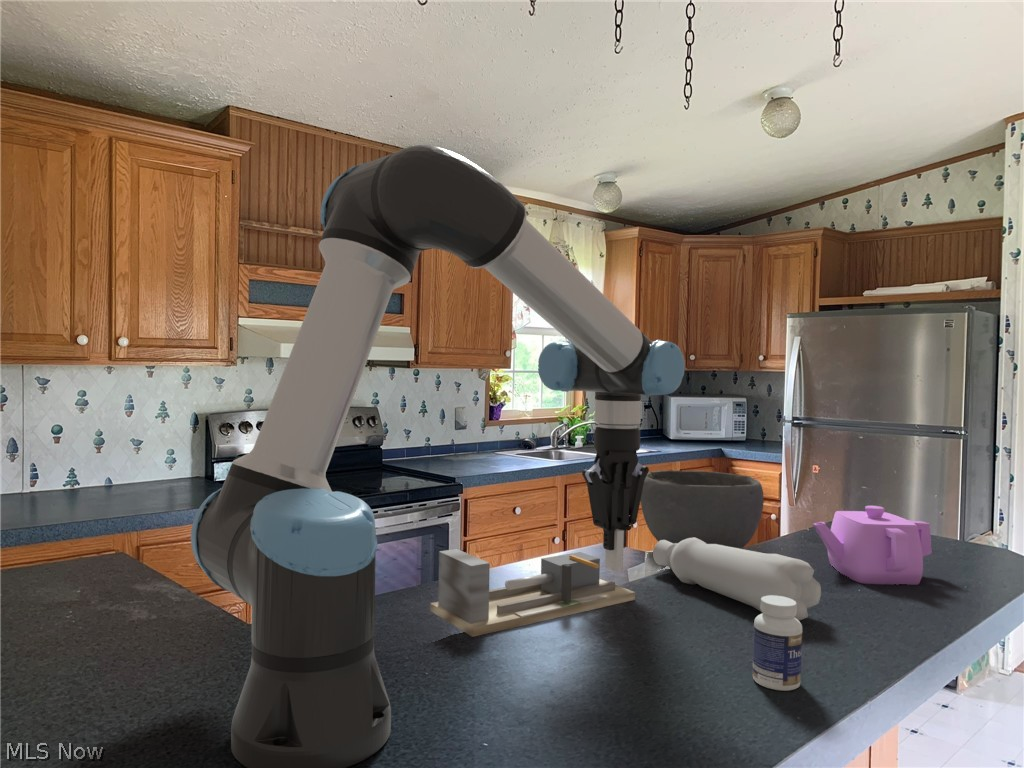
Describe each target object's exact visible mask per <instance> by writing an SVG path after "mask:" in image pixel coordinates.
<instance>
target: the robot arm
mask: <svg viewBox="0 0 1024 768" xmlns="http://www.w3.org/2000/svg"><path fill="white" fill-rule="evenodd" d="M527 216H528V215H527V207H526V206H525V205H524V203H522V201H521V200H520V199H518V197H516V196H515V195H514V194H513V192H511V191H510V190H509V189H508V188H507V187H506V186H505V185H504V184H503V183H501V182H500V181H499V180H498V179H497V178H495V177H494V176H492V174H490V173H489V172H487V171H486V170H484V169H483V168H482V167H480V166H479V165H477V164H476V163H474V162H472V161H471V160H469V159H467V158H466V157H464V156H462V155H461V154H458V153H456V152H454V151H451V150H448V149H446V148H444V147H439V146H434V145H428V144H427V145H425V144H422V145H421V144H419V145H411V146H407V147H404V148H402V149H399V150H397V151H396V152H393V153H390V154H388V155H387V154H386V155H385V156H382V157H379V158H376V159H373V160H370V161H367V162H366V161H365V162H363V163H359V164H356V165H353V166H352V167H350V168H349V169H348V170H345V172H344V173H342V174H341V175H339V176H337V177H336V178H335V179H334V180H333V181H332V182H331V183H330V185H328V187H327V189H326V191H325V193H324V195H323V197H322V200H321V206H320V216H319V217H320V224H321V225H322V227H323V234H322V237H321V239H320V241H319V244H318V250H319V252H320V253H321V256H322V258H323V259H324V267H323V270H322V272H321V275H320V277H319V280H318V283H317V285H316V287H315V290H314V293H313V295H312V298H311V301H310V303H309V305H308V307H307V310H306V313H305V315H304V319H303V320H302V323H301V326H300V329H299V330H298V333H297V336H296V338H295V341H294V344H293V346H292V349H291V351H290V354H289V356H288V358H287V361H286V364H285V367H284V369H283V372H282V374H281V377H280V379H279V382H278V384H277V387H276V390H275V392H274V394H273V397H272V400H271V402H270V404H269V407H268V410H267V412H266V414H265V418H264V419H263V422H262V424H261V427H260V431H259V432H258V435H257V438H256V440H255V443H254V446H253V448H252V450H251V451H250V452H249V453H246V454H244V455H242V456H240V457H237V458H236V459H234V460H233V461H232V463H231V465H230V467H229V470H228V472H227V475H226V478H225V480H224V482H223V484H222V487H220V488H219V489H217V490H215V491H214V492H212V493H211V494H210V495H209V496H207V498H205V500H203V502H202V504H201V505H200V506H199V508H198V510H197V511H196V514H195V516H194V518H193V522H192V525H191V531H190V544H191V549H192V554H193V556H194V558H195V560H196V563H197V564H198V566H199V567H200V569H201V570H202V572H204V574H205V575H206V576H207V577H208V579H210V581H211V582H212V583H213V584H215V586H218V587H219V588H221V589H222V590H224V591H225V592H230V593H231V594H232V595H235V597H237V598H239V599H240V600H242V601H243V602H245V603H247V604H248V605H250V606H251V659H250V661H251V662H250V667H249V669H248V672H247V675H246V677H245V681H244V684H243V686H242V690H241V692H240V695H239V699H238V702H237V705H236V707H235V710H234V714H233V716H232V721H231V727H230V733H231V734H230V736H231V737H230V748H231V749H230V750H231V753H232V755H233V757H234V758H235V759H236V761H238V763H240V764H242V766H244V767H246V768H348V767H351V766H354V765H356V764H359V763H361V762H363V761H364V760H366V759H368V758H370V757H371V756H373V755H374V754H375V753H377V752H378V751H379V750H380V749H381V748H382V747H384V745H385V744H386V743H387V741H388V739H389V738H390V735H391V730H392V729H391V728H392V727H391V725H392V722H391V721H392V707H391V703H390V699H389V695H388V693H387V689H386V687H385V684H384V680H383V678H382V675H381V674H382V673H381V671H380V668H379V665H378V662H377V658H376V656H375V617H376V616H375V614H376V613H375V612H376V611H375V606H376V605H375V603H376V556H377V552H378V551H377V550H378V538H377V531H376V530H377V529H376V519H375V514H374V512H373V510H372V508H371V507H370V506H369V504H368V503H366V502H365V501H364V500H363V499H362V498H359V497H358V496H355V495H353V494H350V493H347V492H343V491H338V490H337V491H333V490H332V489H331V486H330V485H329V482H328V480H327V477H326V476H327V475H326V474H327V473H326V472H327V470H328V467H329V465H330V462H331V459H332V458H333V454H334V451H335V448H336V446H337V443H338V440H339V437H340V435H341V432H342V429H343V426H344V424H345V421H346V419H347V416H348V413H349V411H350V408H351V404H352V403H353V400H354V398H355V397H354V396H355V395H356V392H357V389H358V386H359V383H360V381H361V378H362V375H363V373H364V370H365V367H366V364H367V361H368V358H369V357H370V354H371V350H372V348H373V346H374V344H375V343H374V342H375V340H376V337H377V334H378V332H379V329H380V327H381V324H382V321H383V318H384V315H385V313H386V310H387V307H388V304H389V302H390V300H391V296H392V294H393V291H394V290H396V289H397V288H401V287H402V286H404V285H407V284H408V283H409V282H410V281H411V278H412V275H413V272H414V270H415V268H416V264H417V262H418V259H419V256H420V254H421V252H423V251H427V250H431V249H434V250H441V251H444V252H447V253H450V254H453V255H454V256H456V257H457V258H459V259H460V260H461V261H463V262H464V263H465V264H466V265H467V266H468V267H470V268H472V269H476V270H477V269H483V268H484V269H485V270H486V271H487V272H488V273H489V274H491V275H492V277H494V278H495V279H497V280H498V281H499V283H501V284H502V285H504V286H505V288H507V289H508V290H509V291H511V292H512V293H513V294H514V295H515V296H517V298H518V299H520V300H521V301H522V302H523V303H525V304H526V305H527V306H528V307H529V308H530V309H531V310H533V311H534V312H535V313H536V314H537V315H539V316H540V318H542V319H543V320H544V321H545V322H547V324H549V325H550V326H551V327H552V328H554V329H555V331H557V332H558V333H559V334H560V335H562V336H563V337H564V338H565V339H566V341H565V340H562V341H554V342H553V341H552V342H550V343H548V344H547V345H546V346H545V347H543V349H542V350H541V352H540V354H539V357H538V365H537V367H538V369H537V372H538V375H539V378H540V381H541V382H542V384H543V385H544V386H545V387H546V388H547V389H549V390H551V391H557V392H558V391H559V392H560V391H561V392H563V393H564V392H566V393H568V392H572V391H573V392H589V393H591V392H592V393H593V392H594V423H595V424H597V426H596V427H595V428H594V429H593V433H594V434H593V447H594V449H595V450H596V451H595V453H596V455H595V457H594V460H593V465H592V466H591V467H590V468H589V469H583V470H582V472H581V474H582V477H583V479H584V481H585V483H586V487H587V492H588V499H589V500H588V501H589V504H590V511H591V516H592V523H593V525H594V526H595V527H599V528H601V529H602V531H603V534H602V535H603V542H602V546H603V549H604V550H605V554H604V555H605V556H604V561H605V562H604V563H605V564H604V567H605V568H606V569H609V570H612V571H615V572H619V571H623V570H624V549H626V545H627V531H631V530H632V527H633V526H632V525H636V524H637V519H638V515H639V509H640V506H641V502H640V500H641V495H642V490H643V485H644V480H645V478H646V476H647V474H648V473H649V472H650V469H649V467H648V466H646V465H645V466H644V465H642V464H641V463H640V462H639V457H638V454H637V451H639V450H640V448H641V429H640V428H639V427H638V426H639V425H640V424H641V422H642V419H641V418H642V417H641V416H642V413H641V412H642V409H641V408H642V396H643V395H645V396H647V397H651V396H659V395H660V396H663V395H665V396H666V395H669V394H670V395H671V394H673V393H674V392H675V391H676V390H678V388H679V387H680V386H681V384H682V381H683V378H684V376H685V365H686V363H685V358H684V355H683V352H682V349H680V347H679V346H678V345H677V344H676V343H674V342H671V341H666V340H662V339H656V340H652V339H649V337H648V336H647V335H646V334H644V332H643V331H641V330H640V329H639V327H637V326H636V324H634V323H633V322H632V321H631V320H630V319H629V318H628V317H627V316H626V315H625V314H624V312H622V311H621V310H620V309H619V308H618V307H617V306H616V305H614V303H612V301H611V300H610V299H609V298H608V297H606V295H604V294H603V292H602V291H600V290H599V288H597V287H596V286H595V284H593V283H592V282H591V281H590V280H589V279H588V278H587V277H586V276H585V275H584V274H583V273H582V272H581V271H580V270H579V269H578V268H577V267H576V266H575V265H574V264H573V263H572V262H571V261H570V260H569V259H568V258H566V257H565V256H564V254H562V253H561V251H559V250H558V249H557V248H556V246H554V245H553V244H552V243H551V242H550V241H549V240H548V239H547V238H546V237H545V236H544V235H543V234H542V233H541V232H540V231H539V230H538V229H537V228H536V227H535V226H534V225H533V224H532V223H531V222H530V221H529V220H528V219H527Z"/></svg>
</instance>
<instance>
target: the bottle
mask: <svg viewBox="0 0 1024 768" xmlns="http://www.w3.org/2000/svg"><path fill="white" fill-rule="evenodd" d="M652 557H653V560H654V562H655V563H656V564H657V565H659V566H663V567H668V568H670V569H671V570H672V572H673V573H674V574H675V576H676V577H677V578H678V579H679V581H680V582H681V583H684V584H687V585H696V584H698V585H699V586H700V587H702V588H704V589H707V590H710V591H711V592H714V593H717V594H719V595H722V596H725V597H728V598H729V599H733V600H735V601H738V602H739V603H743V604H745V605H748V606H750V607H752V608H755V609H756V610H758V611H759V612H761V613H763V612H762V611H761V608H760V606H761V598H762V597H764V596H769V595H775V596H783V597H787V598H790V599H793V600H794V601H796V603H797V613H796V616H794V618H796V619H797V620H799V621H801V620H804V619H807V618H808V617H809V615H808V609H809V608H812V607H814V606H816V605H819V602H820V600H821V596H822V589H821V583H819V581H817V579H815V577H813V575H814V574H815V573H814V572H815V570H814V569H813V567H812V565H810V563H809V562H807V561H805V560H802V559H799V558H796V557H795V558H793V557H789V556H786V555H782V554H779V553H764V552H760V551H755V550H748V549H743V548H742V549H739V548H734V547H728V546H723V545H718V544H706V543H705V542H704V541H702V540H700V539H697V538H695V537H693V538H687V539H685V540H682V541H681V542H679V543H671V542H669V541H666V540H660V541H659V542H658V541H657V542H656V544H655V545H654V547H653V550H652Z"/></svg>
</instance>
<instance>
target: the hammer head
mask: <svg viewBox="0 0 1024 768" xmlns="http://www.w3.org/2000/svg"><path fill="white" fill-rule="evenodd" d="M571 569H572V566H571V565H568V564H563V565H562V601H564V602H566V603H568V602H571Z"/></svg>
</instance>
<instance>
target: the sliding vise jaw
mask: <svg viewBox="0 0 1024 768" xmlns="http://www.w3.org/2000/svg"><path fill="white" fill-rule="evenodd" d="M600 563H601V559H600V558H599V557H596V556H593V555H590V554H587V553H584V552H582V551H579V552H574V553H573V552H572V553H566V554H561V555H555V556H554V555H553V556H548V557H543V558H542V557H541V558H540V574H536V575H530V576H524V577H520V578H514V579H507V580H506V581H505V582H504V587H506V589H507V590H512V589H518V588H523V587H528V586H533V585H538V584H541V589H542V590H545V591H547V592H549V593H552V594H553V593H558V592H562V565H563V564H568V565H571V566H572V569H571V590H573V589H578V588H583V587H587V586H592V585H597V584H599V579H600V576H601V575H600V572H601V571H600V569H601V564H600Z"/></svg>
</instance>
